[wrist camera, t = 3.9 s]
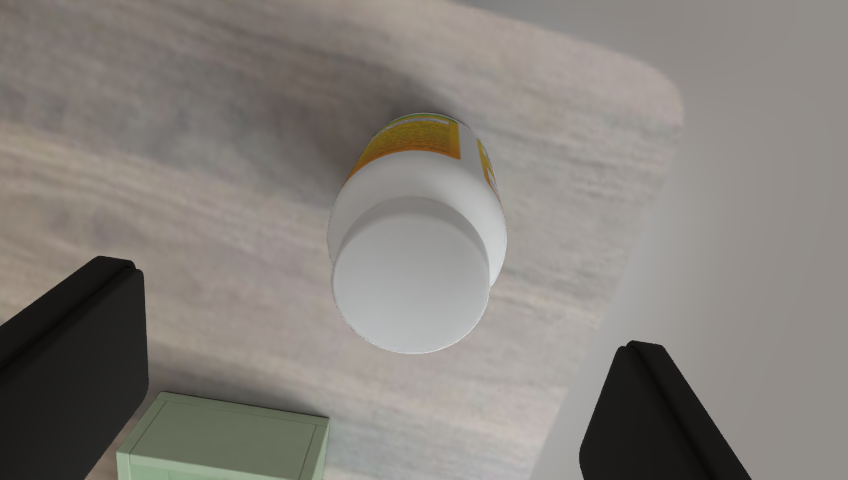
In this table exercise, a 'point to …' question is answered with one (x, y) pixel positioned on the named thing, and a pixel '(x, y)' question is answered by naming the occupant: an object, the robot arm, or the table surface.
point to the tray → (222, 442)
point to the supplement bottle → (417, 236)
